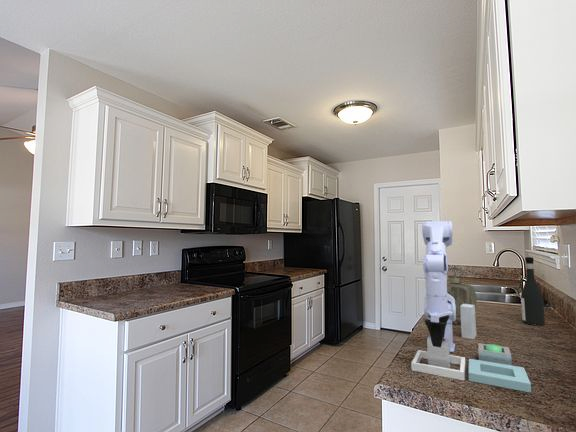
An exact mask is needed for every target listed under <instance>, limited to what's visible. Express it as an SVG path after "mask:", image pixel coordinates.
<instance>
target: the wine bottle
mask: <svg viewBox="0 0 576 432" xmlns="http://www.w3.org/2000/svg"><path fill="white" fill-rule="evenodd" d="M524 260H525V266H526V268H525V269H526V279H525V283H524V285H523V288H522V289H521V293H520V295H521V296H520V302H521V303H520V305H521V318H522V322H523V323H524V324H526V323H527V324H526V325H529V324H536V325H541V326H543V325H542V324H544V325H545V324H546V321H545V319H546V318H545V307H544V306H545V305H544V303H545V302H544V297H543V293H542V291H541V289H540V288H539V285H538V283H537V282H536V279H535V270H534V268H535V267H534V257H532V256H531V257H530V256H526V257H525V259H524ZM536 325H535V326H536Z"/></svg>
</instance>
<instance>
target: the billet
mask: <svg viewBox="0 0 576 432" xmlns="http://www.w3.org/2000/svg"><path fill="white" fill-rule="evenodd" d="M426 344H427V345H426V347H427V348H426V350H427V352H428V359H427V365H432V366H438V367H443V368H449V369H451V363H450V355H451V352H450V345H449V339H448V338H443V339H442V345H441V347H434V346H433V345H432V341H431V337H430V335H429V336H427V339H426Z"/></svg>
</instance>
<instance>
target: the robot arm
mask: <svg viewBox="0 0 576 432" xmlns="http://www.w3.org/2000/svg"><path fill="white" fill-rule="evenodd" d="M421 230H422V231H421V234H422V239H423V242H424V245H425V247H426V248H425V255H424V256H423V257H422V268H423V273H424V280H425V296H424V303H423V304H424V306H423V307H424V310H423V311H424V317H425V319H424V324H425V326H426V328H427V330H428V332H429V336H430V337H431V341H432V345H433V346H434V347H441V345H442V339H443V338H448V339H449V345H450V353H455V350H456V349H455V348H456V343H454V340H453V339H454V337H453V336H454V334H453V322H454V321H455V320H456V321H457V319H456V305H455V299H454V298H453V297H452V296H451V295H449V294H448V293H447V283H448V281H447V280H448V279H447V277H448V276H447V273H448V274H449V271H448V269H449V265H448V256H447V247H450V246H451V245H452V243H453V222H452V221H451V220H439V221H437V220H435V221H433V220H431V221H430V220H429V221H426V220H425V221H423V222H422V224H421Z"/></svg>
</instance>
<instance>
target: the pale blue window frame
mask: <svg viewBox="0 0 576 432" xmlns="http://www.w3.org/2000/svg"><path fill="white" fill-rule="evenodd" d="M468 381H469V382H473V383H479V384H483V385H484V384H485V385H489V386H495V387H500V388H503V389H504V388H506V389H510V390H516V391H521V392H525V393H526V392H527V393H532V384H531V381H530V379H529V377H528V373H527V372H526V370H525V368H524V366H523V367H522V366H517V365H505V364H499V363H493V362H487V361H481V360H479V359H473V358H469V359H468Z"/></svg>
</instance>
